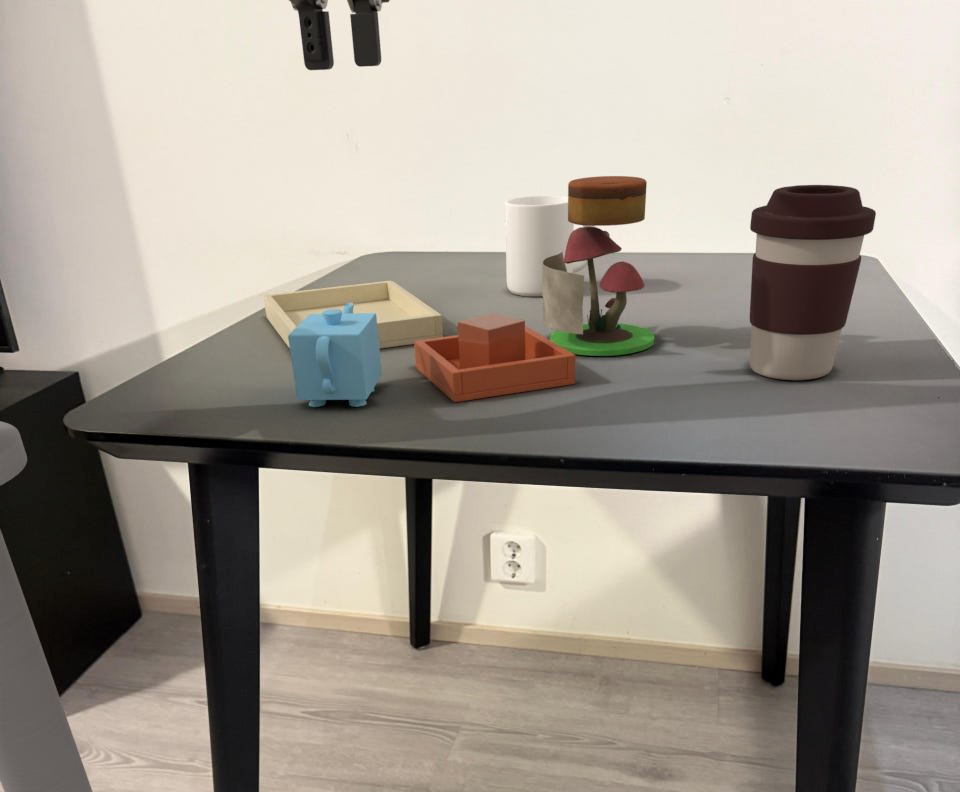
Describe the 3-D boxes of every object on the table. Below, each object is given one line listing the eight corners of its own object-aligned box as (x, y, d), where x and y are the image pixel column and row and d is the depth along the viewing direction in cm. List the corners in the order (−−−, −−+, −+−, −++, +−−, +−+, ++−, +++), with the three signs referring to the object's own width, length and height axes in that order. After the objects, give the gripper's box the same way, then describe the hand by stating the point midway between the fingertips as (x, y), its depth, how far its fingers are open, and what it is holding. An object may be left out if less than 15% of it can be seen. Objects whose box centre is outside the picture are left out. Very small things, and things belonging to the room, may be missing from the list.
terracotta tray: (454, 402, 80) (452, 372, 79) (415, 367, 90) (413, 340, 88) (575, 383, 83) (575, 355, 82) (526, 352, 93) (525, 325, 91)
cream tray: (297, 359, 93) (293, 333, 92) (266, 317, 109) (263, 294, 108) (443, 340, 98) (441, 314, 96) (393, 302, 113) (391, 280, 112)
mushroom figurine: (627, 321, 101) (634, 169, 93) (678, 350, 91) (691, 182, 83) (525, 332, 99) (523, 177, 91) (565, 364, 89) (567, 192, 81)
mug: (581, 277, 122) (583, 191, 116) (610, 289, 115) (614, 198, 109) (496, 287, 118) (494, 199, 113) (522, 300, 112) (521, 207, 106)
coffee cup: (838, 355, 88) (868, 180, 80) (855, 387, 80) (891, 196, 71) (731, 354, 89) (750, 182, 81) (737, 385, 81) (759, 198, 73)
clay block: (490, 379, 84) (488, 329, 81) (459, 369, 86) (457, 321, 84) (525, 368, 86) (525, 320, 83) (494, 359, 89) (493, 312, 86)
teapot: (327, 374, 89) (317, 292, 85) (389, 373, 88) (382, 291, 84) (294, 416, 79) (280, 326, 75) (363, 416, 78) (354, 325, 74)
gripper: (320, -175, 73) (344, 67, 81) (218, -213, 62) (258, 72, 70) (407, -186, 70) (422, 64, 79) (317, -228, 59) (345, 69, 68)
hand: (345, 68), depth 75 cm, fingers open, 8 cm apart
